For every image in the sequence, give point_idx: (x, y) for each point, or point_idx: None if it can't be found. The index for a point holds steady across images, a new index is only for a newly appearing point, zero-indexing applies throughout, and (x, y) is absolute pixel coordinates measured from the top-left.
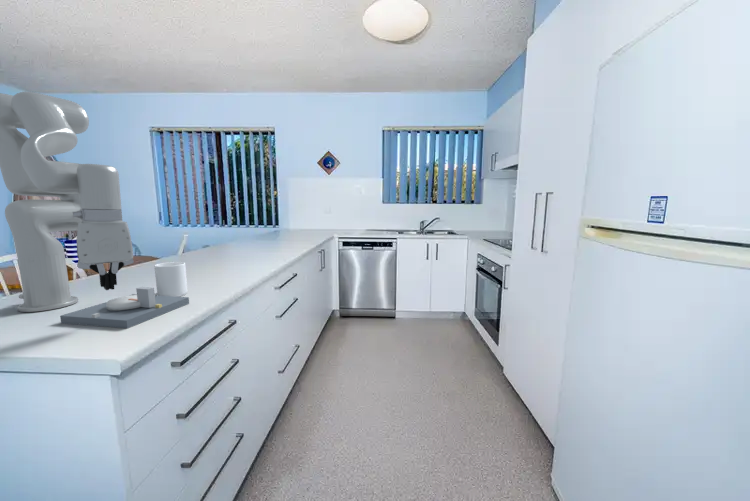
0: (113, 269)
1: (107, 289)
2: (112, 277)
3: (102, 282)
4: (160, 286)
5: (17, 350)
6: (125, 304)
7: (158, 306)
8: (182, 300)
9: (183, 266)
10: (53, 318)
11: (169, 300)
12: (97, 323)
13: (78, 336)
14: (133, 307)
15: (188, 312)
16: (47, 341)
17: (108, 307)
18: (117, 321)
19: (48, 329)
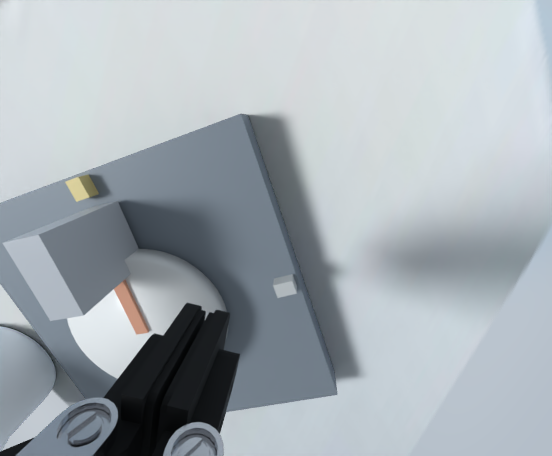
0: (75, 452)
1: (223, 312)
2: (148, 367)
3: (227, 372)
4: (6, 397)
5: (523, 229)
6: (179, 275)
7: (84, 179)
8: None
9: None
10: (323, 427)
11: None
12: (292, 253)
13: (375, 194)
14: (162, 255)
15: (14, 87)
16: (442, 235)
17: None
18: (259, 165)
19: (378, 347)
